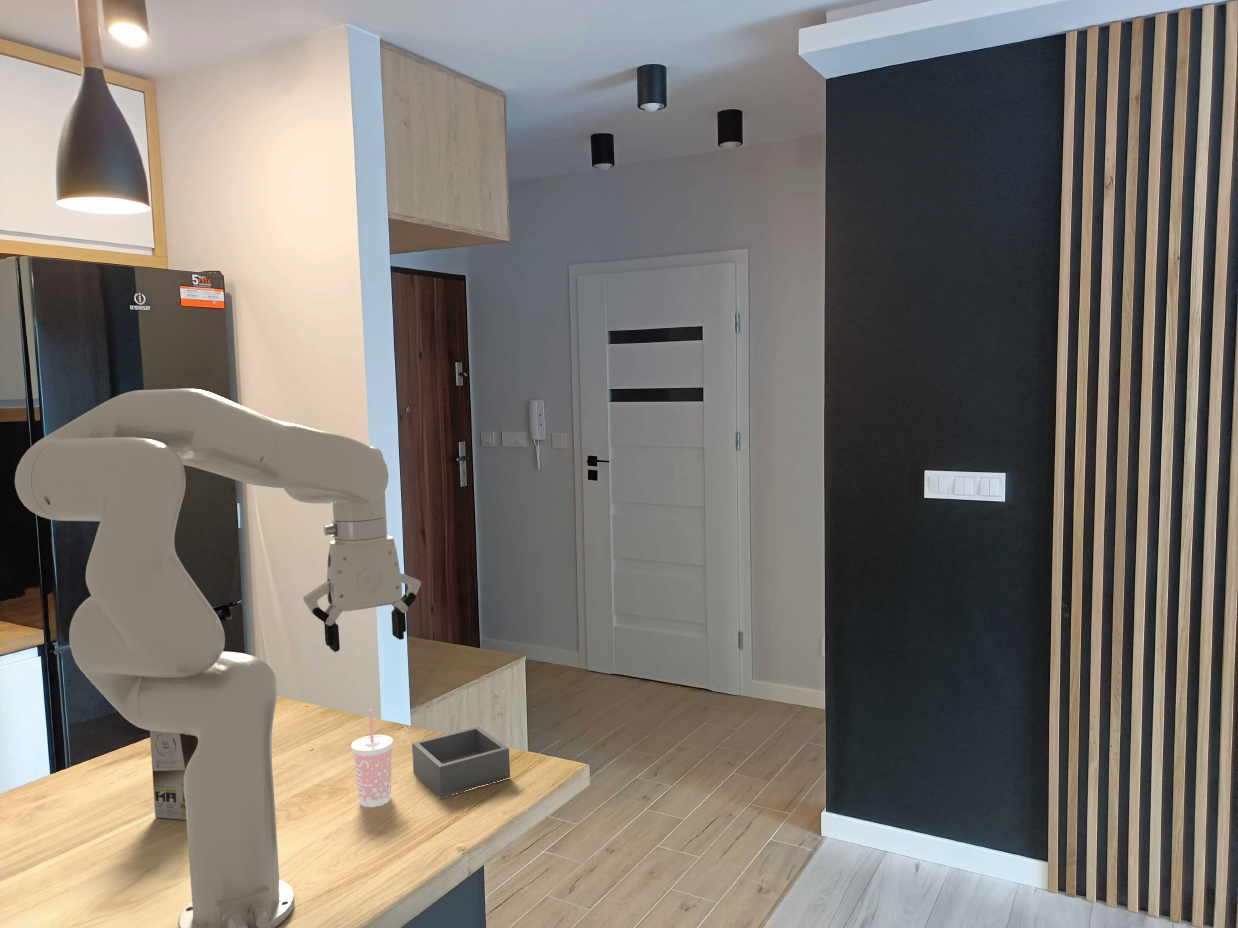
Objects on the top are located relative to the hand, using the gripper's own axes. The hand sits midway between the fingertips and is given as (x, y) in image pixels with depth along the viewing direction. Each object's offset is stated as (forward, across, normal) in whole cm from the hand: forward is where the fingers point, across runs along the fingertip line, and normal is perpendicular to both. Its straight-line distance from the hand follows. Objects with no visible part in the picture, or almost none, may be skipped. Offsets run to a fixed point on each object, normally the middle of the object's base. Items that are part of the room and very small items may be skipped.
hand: (366, 643), depth 132 cm
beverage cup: (+24, 0, 0) cm, 24 cm away
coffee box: (+24, -23, +15) cm, 37 cm away
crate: (+24, +14, 0) cm, 28 cm away
